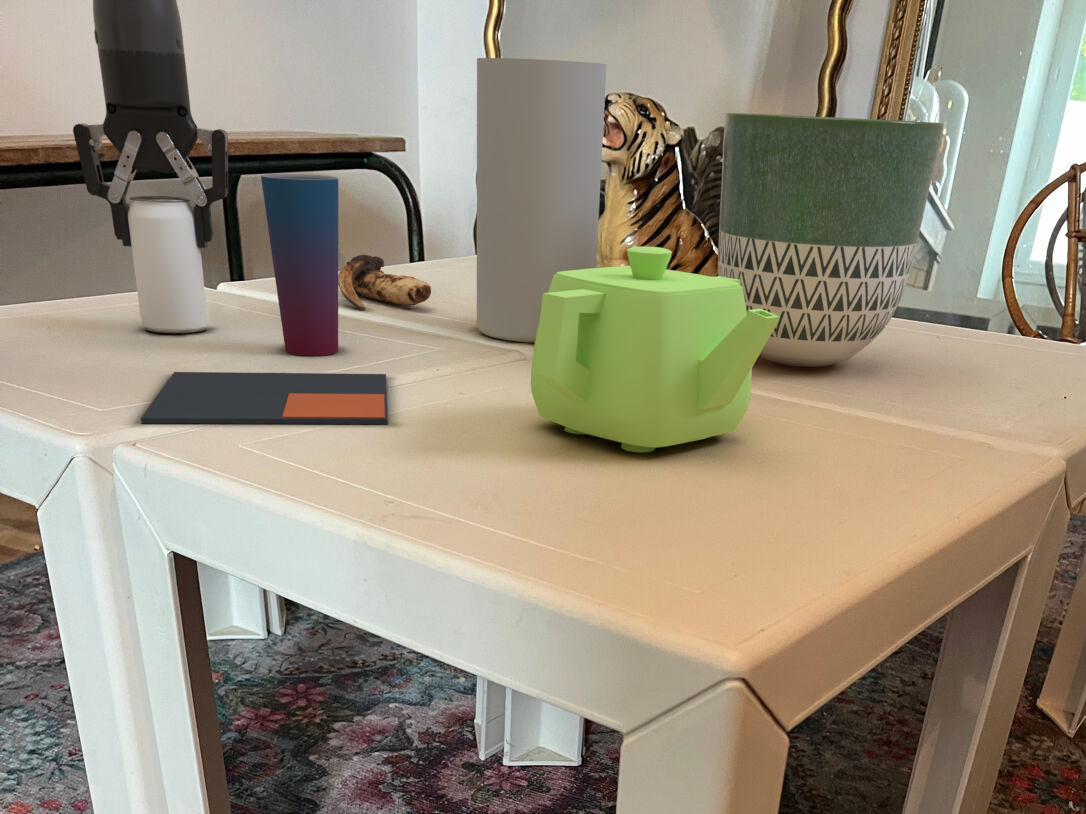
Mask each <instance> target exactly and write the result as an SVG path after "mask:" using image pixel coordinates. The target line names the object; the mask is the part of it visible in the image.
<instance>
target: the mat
mask: <svg viewBox="0 0 1086 814" xmlns="http://www.w3.org/2000/svg"><path fill="white" fill-rule="evenodd" d="M388 417H389V416H388V386H387V374H386V373H329V372H327V373H325V372H322V373H320V372H319V373H318V372H317V373H316V372H314V373H312V372H232V371H231V372H229V371H228V372H227V371H226V372H223V371H222V372H220V371H219V372H216V371H214V372H213V371H209V372H208V371H174V372H173V373H172V374H171V376H170V377H169V379H167V381H166V382H165V384H164V385H163V386H162V388H161V389H160V390H159V392H158V394H157V395H156V396H155V398H153V401H152V402H151V403H150V405H148V407H147V408H146V410H145V412H144V413H143V414H142V415H141V417H140V423H141V424H205V425H206V424H207V425H208V424H211V425H212V424H215V425H216V424H217V425H218V424H223V425H225V424H230V425H231V424H232V425H233V424H235V425H236V424H239V425H240V424H241V425H243V424H244V425H247V424H248V425H249V424H250V425H252V424H253V425H255V424H256V425H261V424H263V425H388V424H389V418H388Z"/></svg>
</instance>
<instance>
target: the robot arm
mask: <svg viewBox="0 0 1086 814" xmlns="http://www.w3.org/2000/svg"><path fill="white" fill-rule="evenodd" d="M92 15H93V16H92V17H93V24H94V25H93V26H94V31H93V35H94V40H95V44H96V45H97V53H98V59H99V60H98V61H99V67H100V74H101V80H102V81H101V82H102V88H103V89H102V90H103V95H104V103H105V116H104V120H103V123H95V124H88V123H83V122H80V123H77V124H75V125H74V126H73V127H72V133H73V136H74V141H75V145H76V149H77V155H78V158H79V163H80V166H81V170H82V174H83V175H82V176H83V179H84V182H85V186H86V190H87V193H88V194H90V195H91V196H95V197H96V196H97V197H98V198H100V199H101V198H102V199H104V200H105V201H107V202H108V204H109V206H110V212H111V219H112V226H113V233H114V236H115V238H116V239H117V240H118V241H119V240H121V242H122V246H123V247H130V248H131V240H130V232H129V224H128V211H129V208H130V203H128V202H127V200H126V199H127V198H126V197H127V195H128V192H129V189H130V187H131V183H132V182H133V180H134V178H135V175H136V172H138V173H148V172H152V171H155V172H156V171H157V172H160V173H162V174H173V173H176V175H177V176H178V178H179V180H180V181H181V182H182V184H183V186H185V189H186V190H187V191H188V193H189V195H190V196H191V198H192V199H193V200H194V203H195V205H194V206H192V209H193V211H194V218H195V227H196V236H197V245H198V248H200V249H207V248H208V243H210V242H212V241H213V239H214V238H213V237H214V229H213V218H212V217H213V216H212V209H211V208H212V205H213V203H215V202H218V201H220V200H223V199H225V198H226V197H227V196H229V195H228V194H229V137H228V136H229V135H228V132H227V131H226V130H225V129H223V128H218V129H209V128H203V127H198V125H197V123H196V122H195V120H194V118H193V116H192V111H191V101H190V92H189V82H188V73H187V65H186V54H185V45H184V37H183V36H184V35H183V28H182V19H181V14H180V11H179V7H178V1H177V0H92ZM104 137H106V138H107V140H108V141H109V142H110V144H112V146H113V147H114V148H115V149H116V151H117V152H118V153H119V155H120V156H119V159H118V162H117V164H116V167H115V170H114V173H113V177H112V181H111V184H109V183H107V182H105V180H104V176H103V172H102V167H101V162H100V158H99V155H98V150H99V149H101V148H102V145H103V138H104ZM198 140H199V141H200V142H201V143H202V145H203V148H204V151H205V152H206V154H209V155H211V177H212V178H211V179H212V180H211V181H212V185H211V186H210V187H209V188H206V187H205V185H204V184H203V182H202V179H201V178H200V177H199V174H198V172H197V170H196V168H195V167H194V165H193V163H192V162H191V160H190V159H189V155H190V154H191V152H192V151H193V149H194V147H195V144H196V143H197V142H198Z"/></svg>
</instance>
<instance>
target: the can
mask: <svg viewBox="0 0 1086 814" xmlns="http://www.w3.org/2000/svg"><path fill="white" fill-rule="evenodd" d="M129 200H130V204H129V211H128V224H129V232H130V240H131V247H130V248H131V255H132V263H133V270H134V278H135V284H136V292H137V300H138V306H139V314H140V320H141V325H142V326H143V327H144V328H145V329H146V330H147V331H150V332H153V333H159V334H160V333H161V334H189V333H191V334H192V333H197V332H201V331H204V330H206V328H207V327H208V325H209V319H208V309H207V299H206V290H205V288H206V287H205V279H204V270H203V260H202V251H201V248H198V245H197V236H196V227H195V218H194V209H193V206H192V205H191V198H190V197H186V196H177V195H176V196H175V195H156V194H155V195H153V194H152V195H149V194H148V195H132V196H130V197H129Z"/></svg>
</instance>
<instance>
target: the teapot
mask: <svg viewBox="0 0 1086 814" xmlns="http://www.w3.org/2000/svg"><path fill="white" fill-rule="evenodd" d="M626 253H627V258H628V262H629V265H621V266H619V265H618V266H605V267H596V268H591V269H580V270H569V271H561V272H557V273H556V275H554V277H553V279H552V282H551V285H550V288H549V291H548V293H543V297H542V305H541V313H540V321H539V326H538V330H537V335H536V340H535V343H534V347H533V352H532V361H531V371H530V389H531V390H530V391H531V394H532V398H533V401H534V404H535V407H536V410H537V412H538V414H539V416H540V417H542V418H543V419H546V420H548V421H550V422H553V423H556V424H557V425H561V426H563V427H564V428H563V431H565V432H567V433H570V434H575V435H590V436H594V437H598V438H601V439H606V440H609V441H613V442H618V443H621V445H620V448H621V449H622V450H624V451H627V452H630V453H631V452H633V453H649V452H650V453H651V452H653V451H655V450H656V448H664V447H671V446H676V445H680V444H685V443H691V442H696V441H699V440H700V441H701V440H706V439H708V438H712V437H716V436H719V435H723V434H727V433H730V432H733V431H735V430H737V429H738V428H739V426H740V424H741V422H742V420H743V418H744V417H745V414H746V412H747V409H748V408H749V404H750V400H751V393H752V392H751V391H752V373H753V369H752V368H753V367H754V365H755V363H756V361H757V360H758V358H759V357H760V356H759V354H760V353H761V351H762V349H763V348H764V346H765V344H766V342H767V341H768V339H769V337H770V336H771V334H772V332H773V330H774V329H775V327H776V325H777V324H778V322H779V319H780V316H777V315H775V314H772V313H770V312H767V311H765V310H762V309H753V310H748V311H746V304H745V298H744V294H743V289H742V286H740V280H738V279H732V278H726V277H720V276H718V275H717V276H709V275H704V274H699V273H698V274H697V273H692V272H687V271H686V272H685V271H680V270H673V269H667V268H668V265H669V263H670V261H671V258H672V254H673V251H671V250H670V249H669V248H665V247H664V248H663V247H659V246H631V247H629V248H627V249H626Z"/></svg>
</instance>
